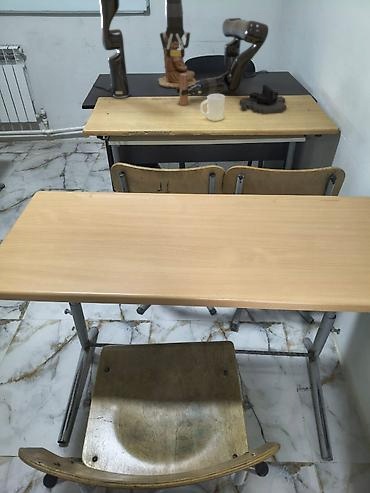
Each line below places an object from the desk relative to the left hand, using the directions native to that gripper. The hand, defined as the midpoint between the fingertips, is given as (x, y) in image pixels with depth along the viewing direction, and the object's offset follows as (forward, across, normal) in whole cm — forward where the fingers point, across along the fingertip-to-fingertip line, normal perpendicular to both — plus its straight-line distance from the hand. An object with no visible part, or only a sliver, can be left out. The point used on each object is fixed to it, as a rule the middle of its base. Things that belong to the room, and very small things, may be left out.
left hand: (176, 57), depth 167 cm
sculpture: (+25, -10, +53) cm, 59 cm away
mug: (+26, +18, -6) cm, 32 cm away
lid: (-3, 0, 0) cm, 3 cm away
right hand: (+19, -2, +13) cm, 23 cm away
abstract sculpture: (+26, +43, +13) cm, 52 cm away
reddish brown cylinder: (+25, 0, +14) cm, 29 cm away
